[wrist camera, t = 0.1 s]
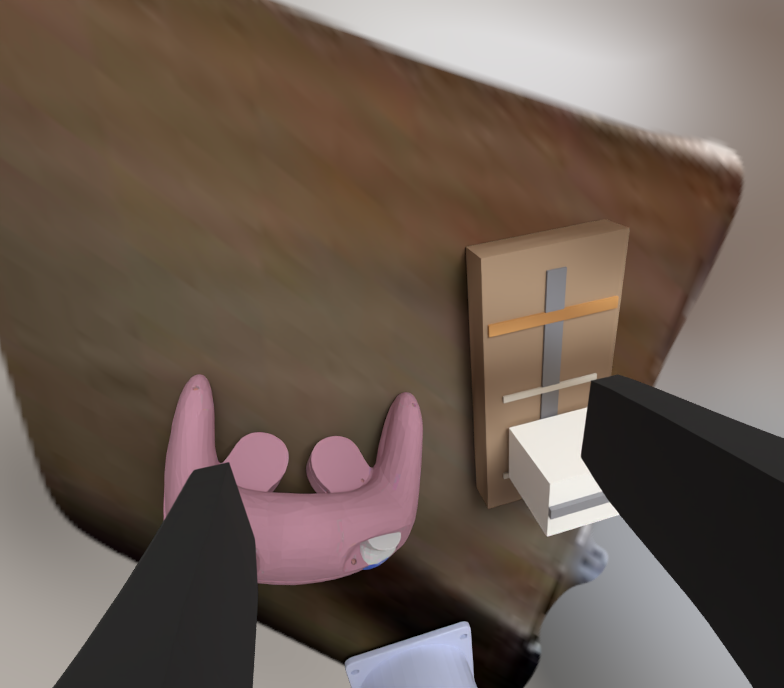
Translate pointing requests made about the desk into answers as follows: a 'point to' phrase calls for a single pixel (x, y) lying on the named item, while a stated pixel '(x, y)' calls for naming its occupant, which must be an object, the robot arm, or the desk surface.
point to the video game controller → (309, 511)
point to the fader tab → (556, 473)
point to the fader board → (538, 333)
